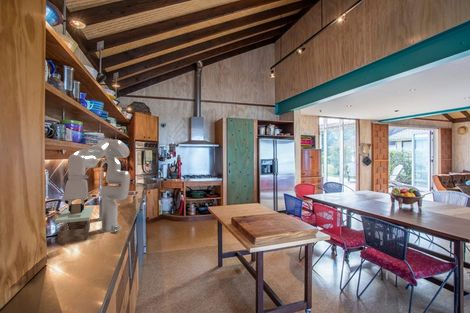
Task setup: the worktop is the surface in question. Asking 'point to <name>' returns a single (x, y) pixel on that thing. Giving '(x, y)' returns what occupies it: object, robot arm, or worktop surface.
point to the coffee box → (100, 209)
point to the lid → (74, 214)
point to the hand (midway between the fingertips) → (76, 211)
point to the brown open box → (73, 232)
